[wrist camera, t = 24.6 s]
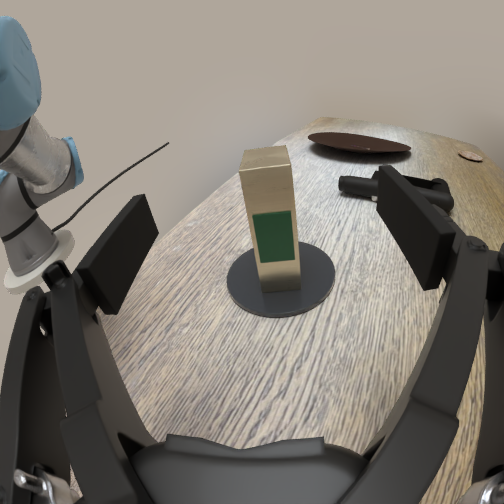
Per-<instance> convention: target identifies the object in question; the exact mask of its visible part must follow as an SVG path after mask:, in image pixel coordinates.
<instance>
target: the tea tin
mask: <svg viewBox="0 0 504 504" xmlns="http://www.w3.org/2000/svg"><path fill="white" fill-rule="evenodd" d="M239 175H240V180H241V185H242V190H243V195H244V201H245V206H246V211H247V216H248V221H249V227H250V232H251V237H252V242H253V248H254V253H255V258H256V263H257V269H258V274H259V279H260V284H261V290H262V293H266V292H277V291H288V290H299V289H301V276H300V260H299V246H298V232H297V220H296V209H295V198H294V188H293V178H292V168H291V163H290V159H289V155H288V151H287V148H286V145H283V146H274V147H265V148H258V149H250V150H245V151H244V154H243V158H242V162H241V165H240V169H239Z"/></svg>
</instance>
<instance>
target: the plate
mask: <svg viewBox="0 0 504 504" xmlns="http://www.w3.org/2000/svg"><path fill="white" fill-rule="evenodd" d="M308 139H309V140H311V141H313V142H317V143H320V144H324V145H327V146H331V147H334V148H337V149H341V150H344V151H348V152H354V153H381V152H395V151H407V150H410V149H411V147H409V146H407V145H404V144H401V143H397V142H393V141H389V140H384V139H380V138H375V137H369V136H363V135H357V134H349V133H335V132H324V133H315V134H311V135H309V136H308Z"/></svg>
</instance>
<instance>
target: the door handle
mask: <svg viewBox="0 0 504 504" xmlns="http://www.w3.org/2000/svg"><path fill="white" fill-rule="evenodd" d="M382 166H390V165H386V164H383V165H382ZM378 173H379V171H375V172H374V174H373V176H372V178H371V179H369V178H362V177H355V176H340V178H339V183H338V187H339V190H341V191H343V192H345V193H350V194H356V195H362V196H369V197H372V200H373V201H374V202H375V201H377V193H378ZM402 176H403V177H404V178H405V179H406V180H408V181H409V182H410V183H411V184H412V185H413V186H414V187H415V188H416V189H417V190H418V191H419V192H420V193H421V194H422V195H423V196H424V197H425V198H426V199H427V200H428V201H429V202H430V203H431V204H435V205H436V206H438V207H440V208H441V209H443V210H444V211H445V212H449V211H451V210H452V209H453V207H454V199H453V197H452V196H451V194H450V190H449V187H448V184H447V182H446V181H445V180H443V179H440V178H435V179H432V180H431V181H430V180H425V179H420V178H415V177H410V176H404V175H402Z"/></svg>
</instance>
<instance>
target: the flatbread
mask: <svg viewBox="0 0 504 504" xmlns="http://www.w3.org/2000/svg"><path fill="white" fill-rule="evenodd" d="M459 154H460V155H462V156H464V157H466V158H468V159H471V160H476V161H481V160H483V158H482V157H480V156H478V155H477V154H475V153H472V152H467V151H459Z"/></svg>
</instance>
